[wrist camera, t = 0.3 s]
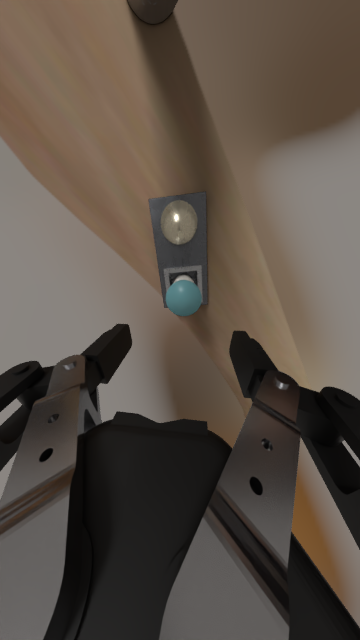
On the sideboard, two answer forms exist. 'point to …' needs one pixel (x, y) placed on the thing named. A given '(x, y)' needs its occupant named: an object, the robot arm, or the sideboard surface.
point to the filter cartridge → (183, 296)
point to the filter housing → (181, 239)
